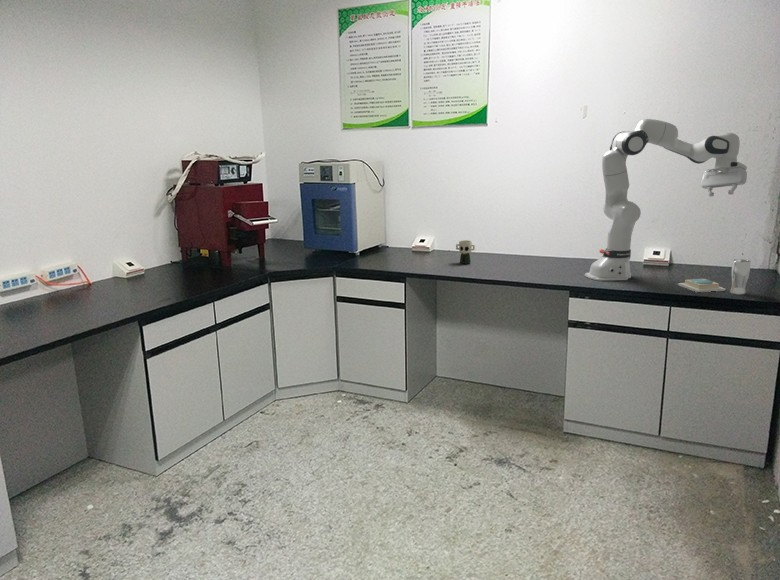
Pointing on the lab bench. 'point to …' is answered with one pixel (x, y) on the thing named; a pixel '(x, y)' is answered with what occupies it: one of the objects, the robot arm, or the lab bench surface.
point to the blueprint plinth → (701, 285)
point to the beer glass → (740, 276)
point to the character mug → (465, 250)
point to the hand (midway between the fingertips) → (720, 195)
